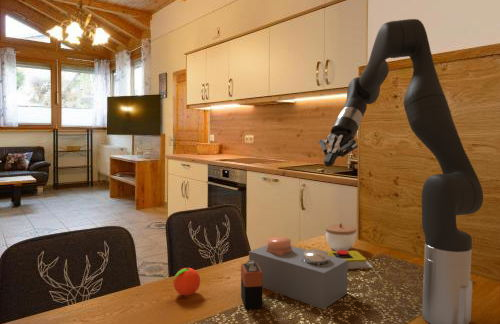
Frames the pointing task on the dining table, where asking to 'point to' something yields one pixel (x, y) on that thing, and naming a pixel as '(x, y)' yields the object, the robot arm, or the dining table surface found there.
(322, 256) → the silver jar
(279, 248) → the orange canister
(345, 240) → the lidded jar
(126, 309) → the dining table surface
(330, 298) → the console
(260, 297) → the battery
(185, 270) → the clementine
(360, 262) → the emergency button
